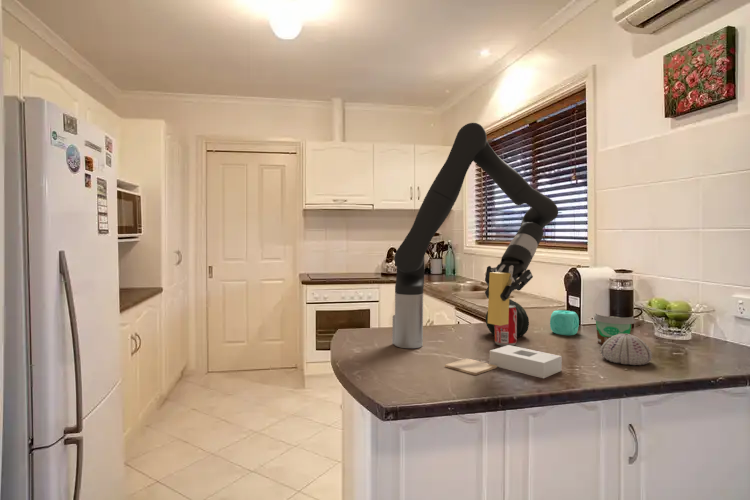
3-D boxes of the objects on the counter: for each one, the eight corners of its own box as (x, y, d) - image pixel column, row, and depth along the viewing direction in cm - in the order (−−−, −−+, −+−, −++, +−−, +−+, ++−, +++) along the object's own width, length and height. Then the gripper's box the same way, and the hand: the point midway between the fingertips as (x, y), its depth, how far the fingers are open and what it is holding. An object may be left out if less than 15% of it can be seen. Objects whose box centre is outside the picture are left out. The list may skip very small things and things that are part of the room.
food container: (594, 346, 150) (595, 316, 149) (592, 342, 155) (593, 313, 155) (636, 350, 145) (637, 319, 145) (633, 345, 151) (634, 316, 150)
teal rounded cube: (578, 333, 170) (579, 312, 170) (571, 336, 164) (572, 314, 164) (557, 330, 175) (557, 309, 175) (549, 333, 169) (550, 312, 169)
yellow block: (487, 323, 124) (489, 272, 123) (495, 321, 127) (497, 272, 126) (500, 325, 121) (502, 273, 120) (508, 324, 124) (510, 273, 123)
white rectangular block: (489, 364, 126) (489, 350, 126) (508, 358, 133) (508, 345, 133) (543, 378, 115) (544, 362, 115) (561, 370, 121) (561, 356, 121)
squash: (536, 326, 154) (526, 290, 163) (492, 327, 154) (484, 291, 164) (526, 346, 165) (517, 311, 174) (485, 347, 165) (479, 312, 175)
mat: (444, 366, 124) (444, 364, 124) (466, 360, 131) (466, 358, 131) (475, 375, 117) (475, 373, 117) (496, 367, 124) (496, 365, 124)
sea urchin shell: (658, 370, 124) (659, 341, 123) (604, 365, 128) (604, 337, 127) (644, 357, 136) (645, 331, 136) (595, 353, 140) (596, 328, 140)
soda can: (517, 347, 147) (518, 307, 146) (494, 346, 148) (495, 306, 148) (515, 342, 153) (516, 304, 153) (493, 341, 155) (494, 303, 154)
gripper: (493, 242, 133) (467, 285, 125) (539, 244, 123) (514, 291, 115) (502, 260, 137) (477, 303, 129) (547, 263, 127) (523, 310, 119)
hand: (495, 297), depth 122 cm, fingers closed on yellow block, 4 cm apart
